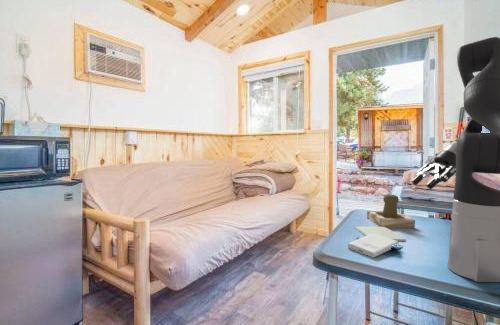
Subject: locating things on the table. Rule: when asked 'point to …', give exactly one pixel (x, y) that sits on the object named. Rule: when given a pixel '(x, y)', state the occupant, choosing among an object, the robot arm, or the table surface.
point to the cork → (390, 206)
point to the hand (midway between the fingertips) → (420, 185)
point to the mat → (380, 232)
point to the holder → (391, 220)
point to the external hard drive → (372, 245)
